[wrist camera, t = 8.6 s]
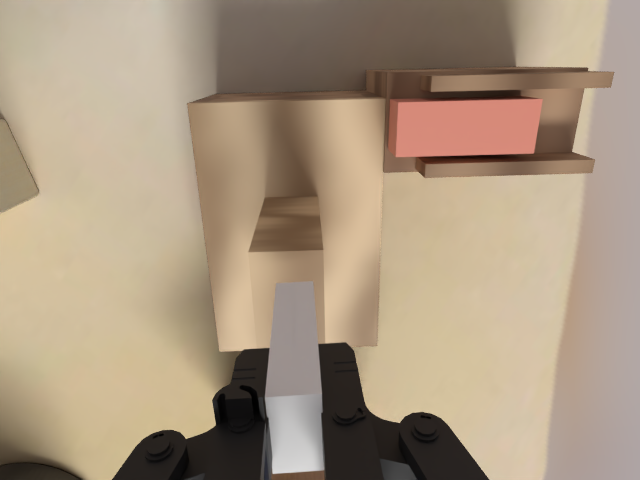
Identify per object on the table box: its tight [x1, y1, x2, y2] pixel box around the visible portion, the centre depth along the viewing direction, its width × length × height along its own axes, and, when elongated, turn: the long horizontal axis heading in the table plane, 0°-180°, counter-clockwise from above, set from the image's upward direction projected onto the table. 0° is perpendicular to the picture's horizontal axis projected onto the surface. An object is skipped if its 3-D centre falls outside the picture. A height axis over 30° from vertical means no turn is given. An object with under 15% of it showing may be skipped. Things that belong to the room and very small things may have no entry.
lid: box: [187, 97, 386, 352], centre depth 26 cm, size 12×18×10 cm, turn 1°
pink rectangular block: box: [388, 96, 543, 157], centre depth 26 cm, size 8×3×2 cm, turn 91°
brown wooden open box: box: [193, 67, 614, 178], centre depth 33 cm, size 24×20×12 cm
